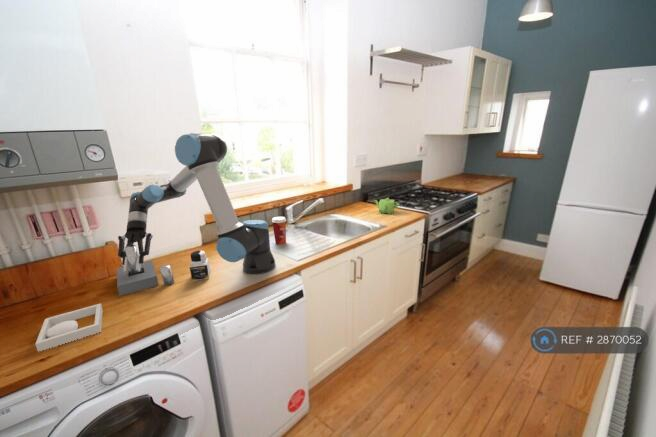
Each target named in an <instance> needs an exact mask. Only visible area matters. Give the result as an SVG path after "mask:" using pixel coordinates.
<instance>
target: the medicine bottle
mask: <svg viewBox="0 0 656 437" xmlns="http://www.w3.org/2000/svg"><path fill="white" fill-rule="evenodd" d="M189 255H190V260H191V262H190V264H189V265H190V266H189V271H190V278H191V281H192V282H194V281H195V282H196V281H203V280H210V276H211V265H210V259H209V258H208V257H207V256H206V252H205V251H204V250H196V251H193V252H191V253H190V254H189Z"/></svg>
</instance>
